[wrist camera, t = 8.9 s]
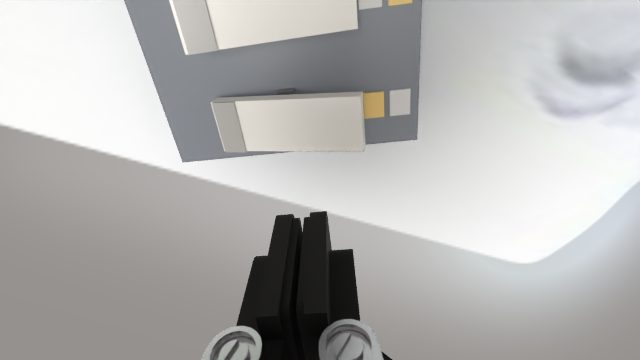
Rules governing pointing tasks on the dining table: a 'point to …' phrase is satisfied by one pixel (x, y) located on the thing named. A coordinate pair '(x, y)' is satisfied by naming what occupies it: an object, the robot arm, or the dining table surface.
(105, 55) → the dining table surface
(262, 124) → the rocker
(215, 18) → the rocker
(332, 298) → the robot arm
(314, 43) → the console
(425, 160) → the dining table surface
